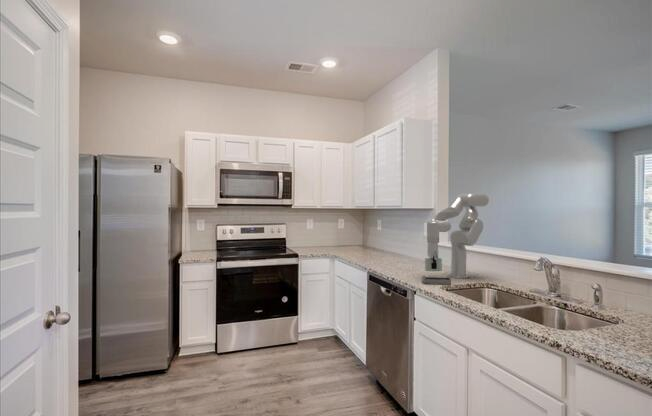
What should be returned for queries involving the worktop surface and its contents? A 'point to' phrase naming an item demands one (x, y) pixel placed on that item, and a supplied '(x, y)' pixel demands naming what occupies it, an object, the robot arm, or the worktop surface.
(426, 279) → the door track
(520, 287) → the worktop surface
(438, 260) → the door panel
